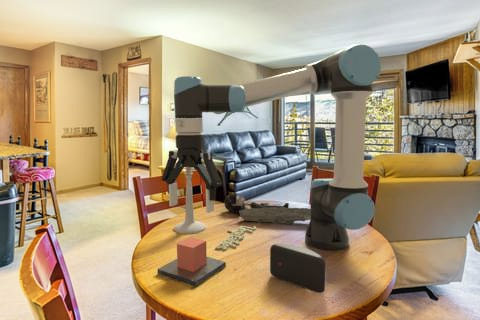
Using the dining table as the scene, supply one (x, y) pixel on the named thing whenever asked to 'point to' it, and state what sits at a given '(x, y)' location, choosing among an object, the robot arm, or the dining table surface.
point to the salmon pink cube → (191, 254)
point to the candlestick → (189, 211)
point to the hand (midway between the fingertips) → (191, 208)
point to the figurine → (244, 204)
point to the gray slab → (189, 276)
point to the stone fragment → (276, 214)
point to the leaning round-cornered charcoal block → (298, 266)
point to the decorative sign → (236, 235)
